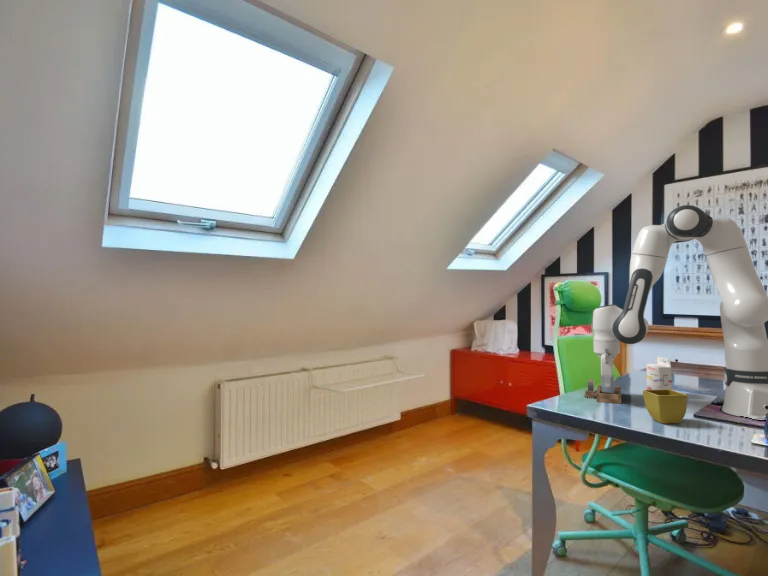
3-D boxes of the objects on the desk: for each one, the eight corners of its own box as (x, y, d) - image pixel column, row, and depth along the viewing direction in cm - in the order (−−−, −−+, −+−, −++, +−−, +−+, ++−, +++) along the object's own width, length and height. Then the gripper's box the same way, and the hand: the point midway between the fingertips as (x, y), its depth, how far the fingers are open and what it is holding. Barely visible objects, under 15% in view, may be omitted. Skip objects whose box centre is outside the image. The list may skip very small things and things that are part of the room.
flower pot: (642, 418, 134) (641, 389, 134) (671, 417, 134) (669, 388, 134) (660, 426, 125) (658, 395, 126) (690, 425, 125) (688, 394, 125)
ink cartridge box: (646, 393, 168) (644, 356, 168) (659, 393, 168) (657, 356, 168) (660, 398, 159) (658, 359, 160) (673, 398, 159) (671, 358, 160)
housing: (621, 393, 168) (620, 386, 168) (621, 403, 153) (621, 395, 153) (586, 391, 174) (586, 384, 174) (583, 400, 159) (583, 392, 159)
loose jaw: (614, 390, 160) (613, 373, 160) (614, 392, 156) (613, 375, 156) (602, 389, 161) (601, 372, 162) (601, 391, 158) (601, 374, 158)
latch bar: (594, 391, 173) (593, 378, 173) (593, 394, 168) (593, 380, 168) (589, 391, 174) (588, 377, 174) (588, 394, 169) (587, 380, 169)
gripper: (616, 351, 149) (617, 391, 148) (616, 345, 167) (617, 381, 166) (595, 350, 152) (597, 389, 151) (598, 345, 170) (599, 379, 169)
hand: (607, 385), depth 159 cm, fingers closed on loose jaw, 4 cm apart
